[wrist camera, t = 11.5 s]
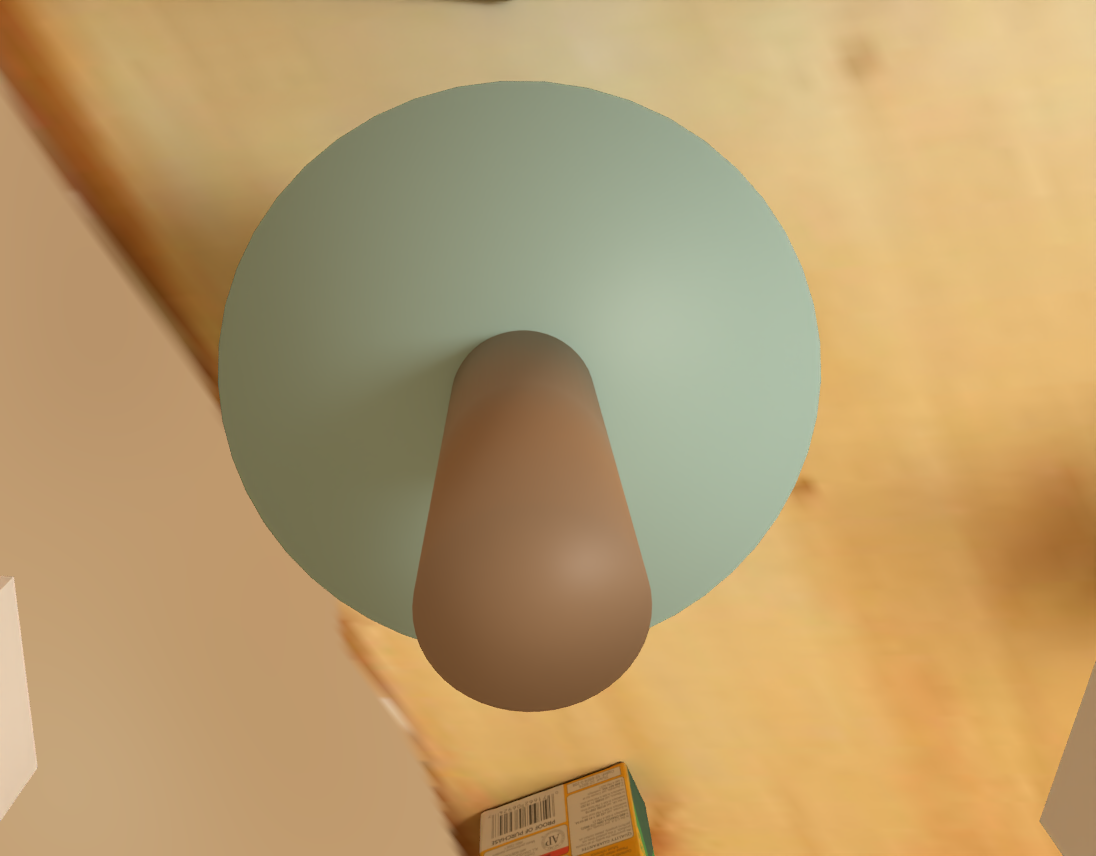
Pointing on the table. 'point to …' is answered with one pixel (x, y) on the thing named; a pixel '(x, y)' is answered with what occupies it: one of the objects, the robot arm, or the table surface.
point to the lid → (519, 379)
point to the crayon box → (572, 820)
